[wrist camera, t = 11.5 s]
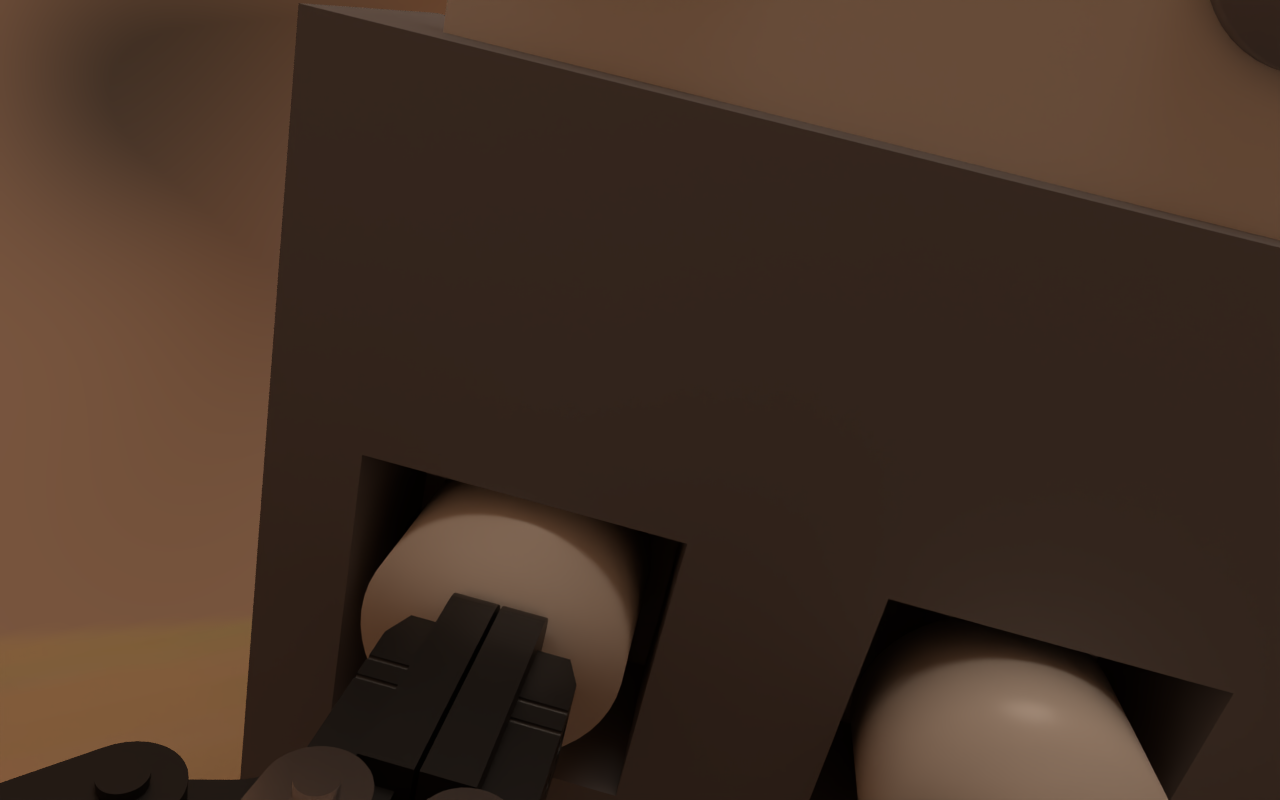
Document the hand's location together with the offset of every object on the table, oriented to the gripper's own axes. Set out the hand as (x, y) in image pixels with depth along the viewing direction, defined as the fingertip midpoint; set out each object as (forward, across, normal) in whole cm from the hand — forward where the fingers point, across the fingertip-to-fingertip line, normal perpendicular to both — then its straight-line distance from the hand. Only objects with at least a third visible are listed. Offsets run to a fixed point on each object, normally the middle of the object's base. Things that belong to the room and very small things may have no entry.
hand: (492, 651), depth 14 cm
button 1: (+2, 0, +2) cm, 2 cm away
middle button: (0, -8, +2) cm, 8 cm away
